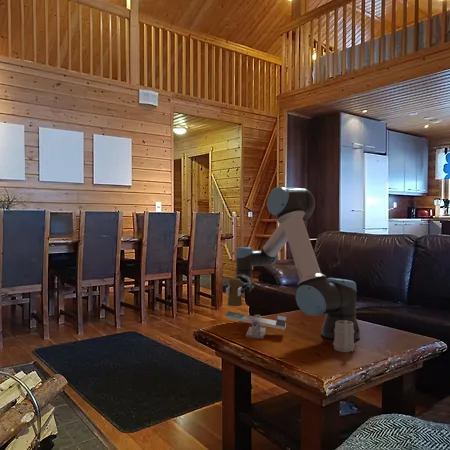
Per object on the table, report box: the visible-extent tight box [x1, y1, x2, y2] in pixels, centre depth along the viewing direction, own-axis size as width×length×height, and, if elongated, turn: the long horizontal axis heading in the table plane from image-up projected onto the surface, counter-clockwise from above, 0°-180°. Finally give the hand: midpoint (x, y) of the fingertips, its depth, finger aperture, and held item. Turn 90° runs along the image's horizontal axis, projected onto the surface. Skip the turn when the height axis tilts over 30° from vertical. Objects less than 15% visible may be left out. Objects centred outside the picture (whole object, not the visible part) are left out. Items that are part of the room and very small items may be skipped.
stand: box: [245, 314, 267, 339], centre depth 174 cm, size 7×12×7 cm, turn 170°
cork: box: [226, 277, 243, 307], centre depth 175 cm, size 6×6×11 cm
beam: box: [225, 311, 287, 331], centre depth 174 cm, size 24×7×4 cm, turn 80°
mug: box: [332, 320, 356, 353], centre depth 153 cm, size 8×12×12 cm, turn 169°
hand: (232, 292), depth 170 cm, fingers closed on cork, 4 cm apart
